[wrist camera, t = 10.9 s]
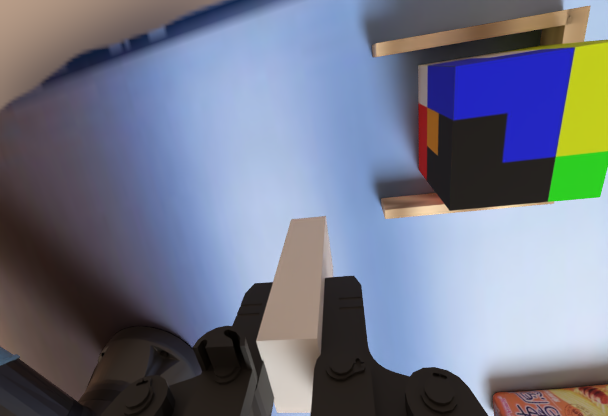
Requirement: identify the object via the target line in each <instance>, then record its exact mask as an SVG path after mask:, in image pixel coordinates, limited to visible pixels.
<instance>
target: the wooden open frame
mask: <svg viewBox="0 0 608 416" xmlns="http://www.w3.org/2000/svg"><path fill="white" fill-rule="evenodd" d="M589 11H590V6H585V7H580V8H574V9H568V10H563V11H557V12H551V13H546V14H540V15H534V16H529V17H523V18H517V19H512V20H506V21H500V22H494V23H489V24H483V25H477V26H472V27H466V28H460V29H455V30H449V31H443V32H438V33H432V34H426V35H421V36H415V37H409V38H404V39H398V40H392V41H386V42H381V43H375V44H374V45H372V53H373V57H379V56H385V55H391V54H397V53H403V52H409V51H414V50H420V49H426V48H432V47H438V46H444V45H450V44H456V43H462V42H468V41H473V40H479V39H485V38H491V37H497V36H503V35H509V34H515V33H521V32H527V31H533V30H538V29H542V32H541V39H540V45H552V44H564V43H575V42H584V38H585V33H586V27H587V22H588V17H589ZM553 203H554V201H552V202H541V203H530V204H519V205H508V206H497V207H486V208H475V209H464V210H454V211H449V209H448V208H447V207H446V205H445V204H444V203H443V201H442V200H441V199H440V197H439V196H438V195H437V193H428V194H419V195H409V196H399V197H389V198H381V206H382V210H383V213H384V216H385V219H389V218H400V217H411V216H422V215H433V214H444V213H455V212H466V211H477V210H487V209H498V208H509V207H520V206H531V205H542V204H553Z"/></svg>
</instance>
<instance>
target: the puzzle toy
mask: <svg viewBox="0 0 608 416" xmlns="http://www.w3.org/2000/svg"><path fill="white" fill-rule="evenodd" d="M418 111H419V171H420V172H421V174H422V175H423V176H424V178H425V179H426V180H427V182H428V183H429V184H430V185H431V187H432V188H433V189H434V191H435V192H436V193H437V195H438V196H439V197H440V199H441V200H442V201H443V203H444V204H445V205H446V207H447V208H448V209H449V211H454V210H464V209H475V208H486V207H497V206H508V205H519V204H530V203H541V202H552V201H563V200H574V199H585V198H596V197H600V195H601V191H602V187H603V183H604V179H605V175H606V171H607V167H608V40H599V41H587V42H575V43H564V44H552V45H540V46H534V47H527V48H521V49H515V50H509V51H503V52H496V53H490V54H484V55H478V56H472V57H465V58H459V59H453V60H447V61H441V62H434V63H428V64H422V65H418Z"/></svg>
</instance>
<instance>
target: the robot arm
mask: <svg viewBox="0 0 608 416" xmlns="http://www.w3.org/2000/svg"><path fill="white" fill-rule="evenodd" d="M193 350H194V351H193ZM193 350H192V349H191V348H190V347H189V346H188V345H187V344H186V343H185V342H183V341H182V340H181V339H179V338H178V337H176V336H174V335H172V334H170V333H168V332H165V331H162V330H159V329H156V328H151V327H130V328H126V329H123V330H121V331H119V332H118V333H116V334H115V335H114V336H113V337H112V338H111V340H110V341H109V342H108V343H107V344H106V346H105V347H104V348H103V350H102V351H101V354H100V356H99V359H98V364H97V366H96V368H95V370H94V372H93V374H92V376H91V379H90V381H89V384H88V386H87V389H86V391H85V393H84V394H83V395H82V397H81V398H80V400H79V401H78V402H77V401H76V400H74V399H73V398H72V397H70V396H69V395H68V394H66V393H65V392H64V391H62V390H61V389H60V388H58V387H57V386H55V385H54V384H53V383H51V382H50V381H49V380H47V379H46V378H44V377H43V376H42V375H40V374H39V373H38V372H36V371H35V370H34V369H32V368H31V367H29V366H28V365H27V364H25V363H24V362H23V361H21V360H20V359H19V358H20V356H19V355H13V354H11V353H10V352H8V351H7V350H5V349H3V348H2V347H0V416H271V413H272V407H273V402H274V404H275V407H276V410H277V413H311V416H488V415H487V413H486V412H485V410H484V409H483V407H482V406H481V404H480V403H479V402H478V400H477V399H476V397H475V396H474V394H473V393H472V391H471V390H470V388H469V387H468V386H467V385H466V384H465V383H464V382H463V381H462V380H461V379H460V378H459V377H458V376H456V375H454V374H453V373H451V372H449V371H447V370H443V369H440V368H436V367H431V368H422V369H420V370H418V371H415V372H413V374H412V375H411V376H410V377H409V376H406V375H402V374H399V373H395V372H392V371H390V370H387V369H385V368H384V367H382V366H381V365H379V364H378V363H377V362H376V361H375V360H374V359H373V357H372V355H371V354H370V352H369V348H368V342H367V334H366V325H365V316H364V307H363V298H362V289H361V284H360V283H359V282H358V280H357V279H356V278H355V277H354V276H343V277H333V265H332V258H331V251H330V243H329V236H328V229H327V222H326V216H322V217H312V218H301V219H291V222H290V226H289V229H288V233H287V236H286V239H285V243H284V246H283V250H282V253H281V257H280V260H279V264H278V267H277V271H276V274H275V277H274V281H273V282H270V283H255V284H254V285H253V286H252V287H251V288H250V289H249V290H248V291H247V292H246V293H245V296H244V298H243V301H242V303H241V307H240V308H239V311H238V313H237V316H236V318H235V321H234V323H233V326H223V327H218V328H215V329H213V330H211V331H209V332H207V333H206V334H205V335H203V336H202V337H201V338H200V339H198V341H197V342H196V344H195V345H194V346H193Z"/></svg>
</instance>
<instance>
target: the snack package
mask: <svg viewBox="0 0 608 416" xmlns="http://www.w3.org/2000/svg"><path fill="white" fill-rule="evenodd" d="M493 409H494V416H608V384H606V385H596V386H585V387H575V388H562V389H550V390H536V391H522V392H498V393H495V394H494V395H493Z"/></svg>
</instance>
